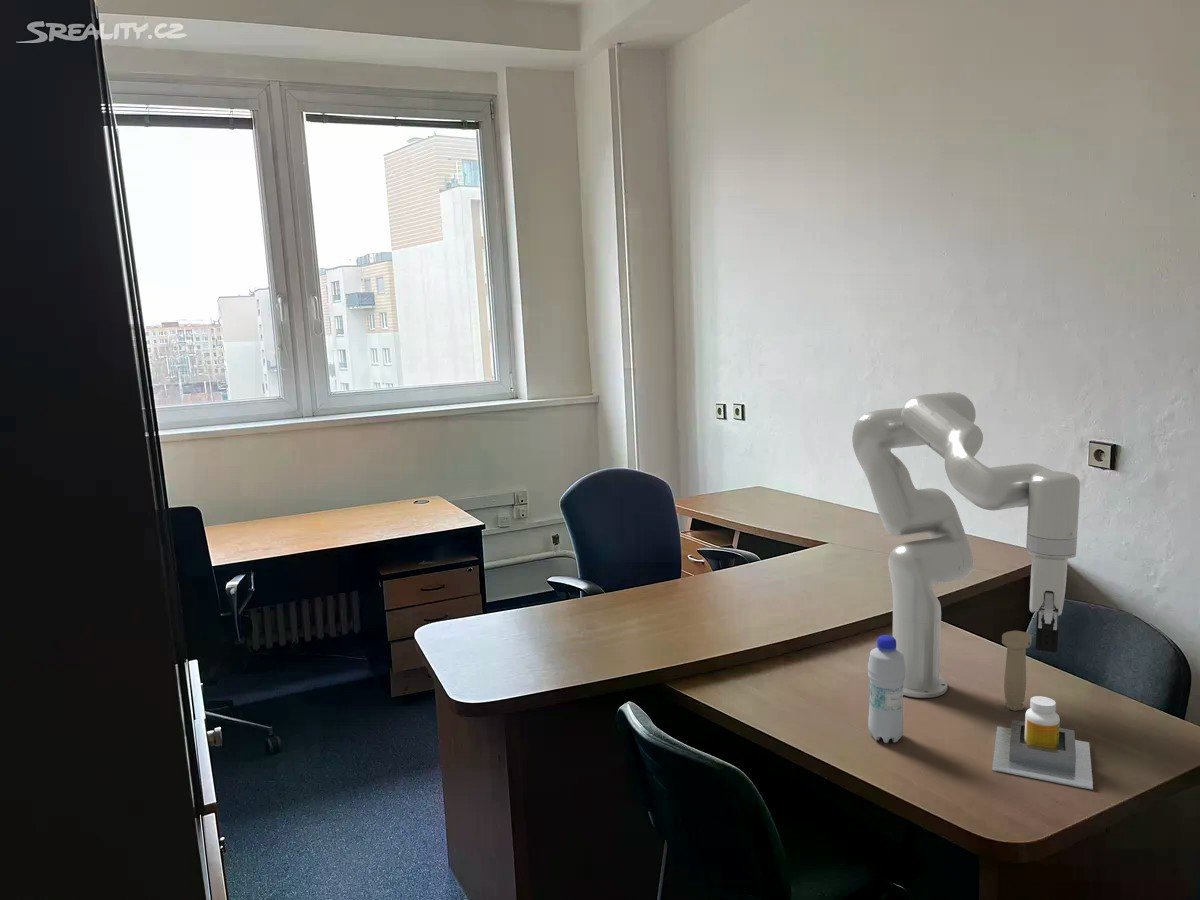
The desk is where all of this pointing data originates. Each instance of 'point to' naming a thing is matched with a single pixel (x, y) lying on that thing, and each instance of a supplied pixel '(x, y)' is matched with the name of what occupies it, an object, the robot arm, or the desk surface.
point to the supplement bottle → (1042, 723)
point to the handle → (1015, 668)
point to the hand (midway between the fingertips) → (1046, 640)
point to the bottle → (886, 690)
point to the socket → (1043, 757)
